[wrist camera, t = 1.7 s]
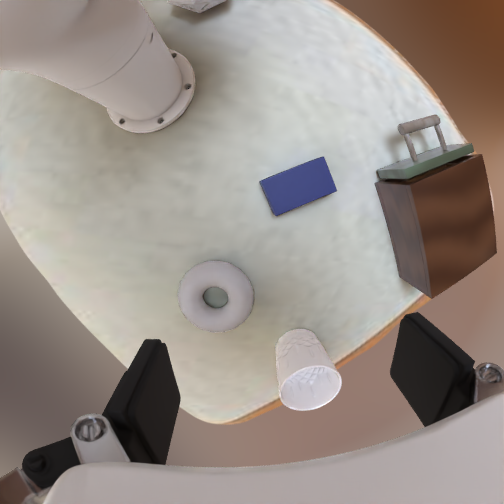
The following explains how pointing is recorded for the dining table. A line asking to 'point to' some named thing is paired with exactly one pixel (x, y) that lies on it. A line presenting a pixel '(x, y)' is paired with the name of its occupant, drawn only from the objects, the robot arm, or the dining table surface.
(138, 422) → the robot arm
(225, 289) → the donut
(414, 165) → the drawer
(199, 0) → the die
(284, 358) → the white cup
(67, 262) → the dining table surface
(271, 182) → the tall navy block
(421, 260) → the cabinet
